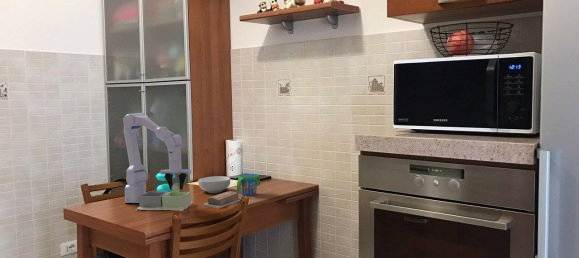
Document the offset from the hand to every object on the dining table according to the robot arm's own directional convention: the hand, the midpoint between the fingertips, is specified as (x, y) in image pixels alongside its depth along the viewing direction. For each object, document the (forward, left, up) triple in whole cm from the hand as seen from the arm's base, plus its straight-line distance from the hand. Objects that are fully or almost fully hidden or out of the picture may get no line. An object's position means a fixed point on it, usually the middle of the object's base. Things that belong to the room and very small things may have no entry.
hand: (176, 189), depth 232 cm
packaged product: (+20, +7, -9) cm, 23 cm away
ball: (0, 0, +1) cm, 1 cm away
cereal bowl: (+9, +33, -9) cm, 35 cm away
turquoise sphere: (-18, +33, -9) cm, 38 cm away
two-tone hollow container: (-6, -1, -8) cm, 10 cm away
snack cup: (+29, +26, -9) cm, 40 cm away
